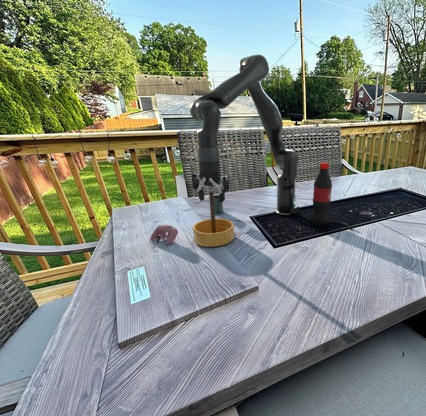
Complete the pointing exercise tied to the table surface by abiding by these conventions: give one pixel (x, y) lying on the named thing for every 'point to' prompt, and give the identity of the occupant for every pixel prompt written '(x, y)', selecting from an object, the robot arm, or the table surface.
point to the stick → (212, 211)
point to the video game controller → (162, 232)
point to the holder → (218, 205)
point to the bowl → (209, 239)
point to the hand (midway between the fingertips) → (211, 201)
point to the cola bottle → (322, 197)
